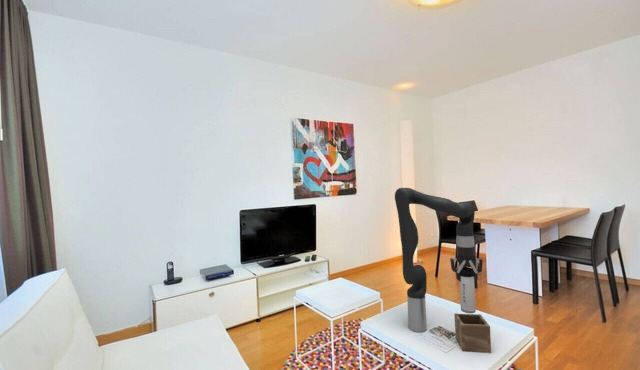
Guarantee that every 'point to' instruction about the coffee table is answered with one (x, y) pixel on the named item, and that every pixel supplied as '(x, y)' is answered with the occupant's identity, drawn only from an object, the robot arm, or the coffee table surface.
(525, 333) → the coffee table surface
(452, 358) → the coffee table surface
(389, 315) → the coffee table surface
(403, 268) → the robot arm
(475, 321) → the wooden box
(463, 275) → the travel mug
